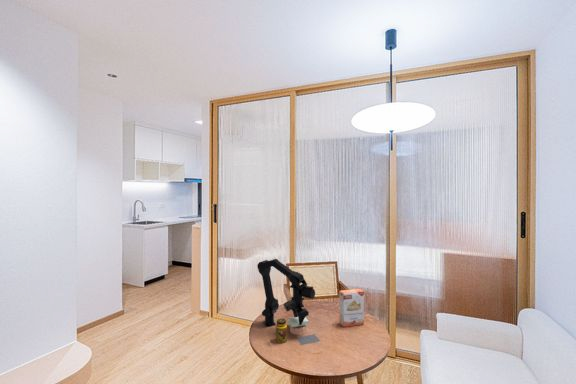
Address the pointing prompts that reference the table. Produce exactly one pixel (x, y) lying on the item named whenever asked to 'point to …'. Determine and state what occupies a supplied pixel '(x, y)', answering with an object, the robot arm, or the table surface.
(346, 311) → the cracker box
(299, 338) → the mat
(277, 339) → the condiment
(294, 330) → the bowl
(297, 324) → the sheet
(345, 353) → the table surface
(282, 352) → the table surface
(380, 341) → the table surface
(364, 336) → the table surface
